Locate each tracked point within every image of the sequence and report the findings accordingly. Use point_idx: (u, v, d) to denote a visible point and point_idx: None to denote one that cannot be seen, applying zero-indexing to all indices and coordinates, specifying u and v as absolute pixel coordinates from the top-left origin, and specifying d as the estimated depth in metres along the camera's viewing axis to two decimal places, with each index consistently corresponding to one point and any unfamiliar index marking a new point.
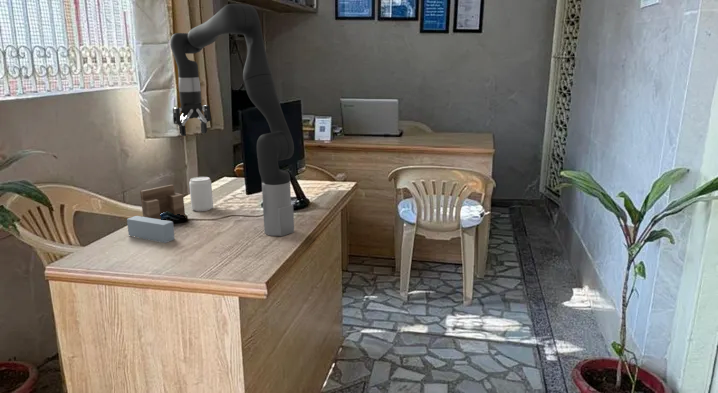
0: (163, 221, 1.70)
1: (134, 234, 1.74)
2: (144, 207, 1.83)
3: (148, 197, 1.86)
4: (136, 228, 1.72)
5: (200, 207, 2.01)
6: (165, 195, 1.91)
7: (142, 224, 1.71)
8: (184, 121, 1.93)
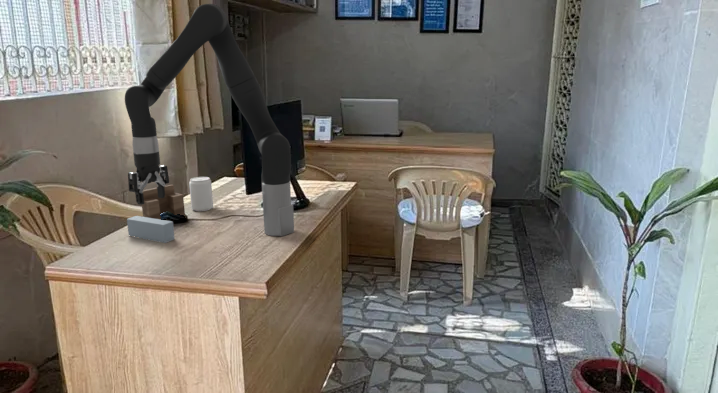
0: (163, 221, 1.70)
1: (134, 234, 1.74)
2: (144, 207, 1.83)
3: (148, 197, 1.86)
4: (136, 228, 1.72)
5: (200, 207, 2.01)
6: (165, 195, 1.91)
7: (142, 224, 1.71)
8: None
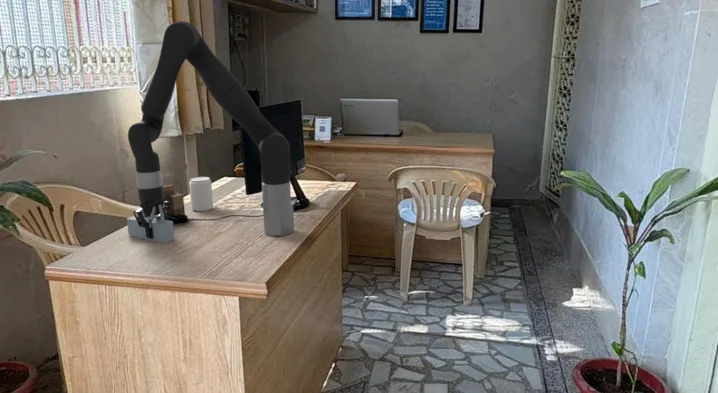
0: (163, 221, 1.70)
1: (134, 234, 1.74)
2: None
3: None
4: (136, 227, 1.72)
5: (200, 207, 2.01)
6: (165, 195, 1.91)
7: None
8: None
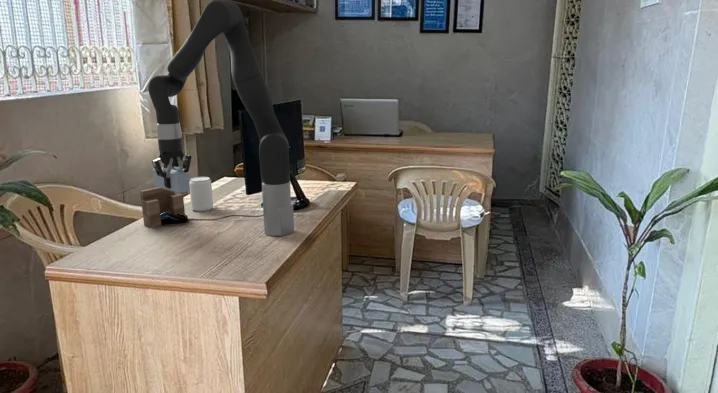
0: (180, 172, 1.78)
1: (157, 184, 1.84)
2: (144, 207, 1.83)
3: (148, 197, 1.86)
4: (158, 178, 1.82)
5: (200, 207, 2.01)
6: (165, 195, 1.91)
7: None
8: None
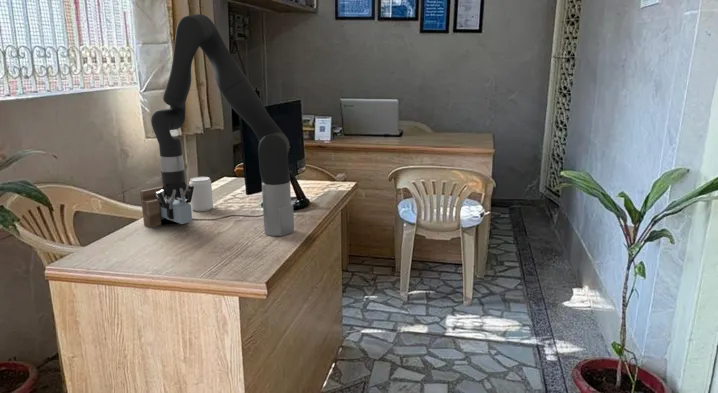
0: (182, 204, 1.80)
1: (160, 214, 1.86)
2: (144, 207, 1.83)
3: (148, 197, 1.86)
4: (161, 208, 1.85)
5: (200, 207, 2.01)
6: (165, 195, 1.91)
7: None
8: None
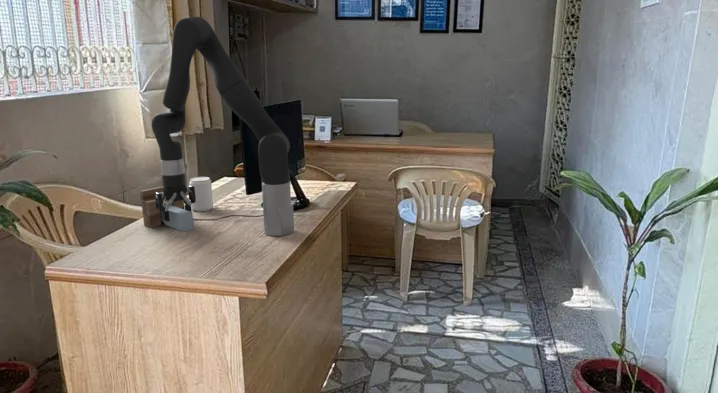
0: (184, 211, 1.81)
1: None
2: (144, 207, 1.83)
3: (148, 197, 1.86)
4: None
5: (200, 207, 2.01)
6: None
7: None
8: None
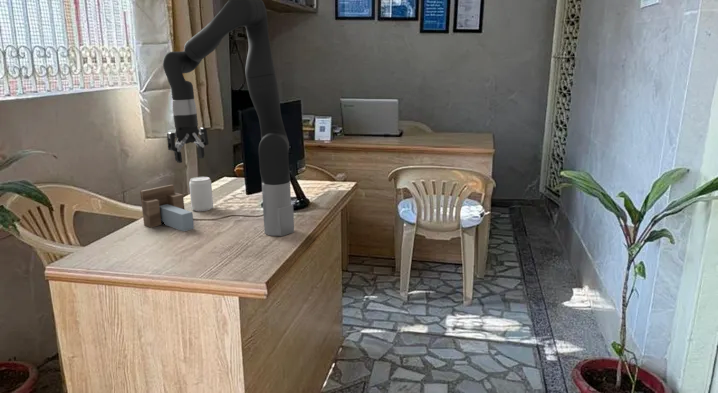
0: (184, 211, 1.81)
1: None
2: (144, 207, 1.83)
3: (148, 197, 1.86)
4: (163, 215, 1.86)
5: (200, 207, 2.01)
6: (165, 195, 1.91)
7: (167, 212, 1.84)
8: None
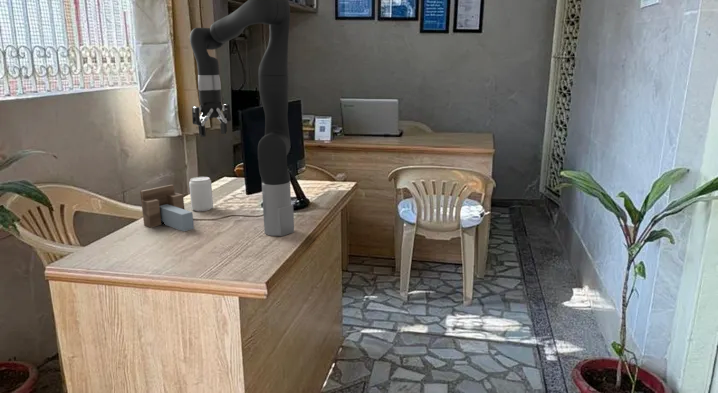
0: (184, 211, 1.81)
1: None
2: (144, 207, 1.83)
3: (148, 197, 1.86)
4: (163, 215, 1.86)
5: (200, 207, 2.01)
6: (165, 195, 1.91)
7: (167, 212, 1.84)
8: None
